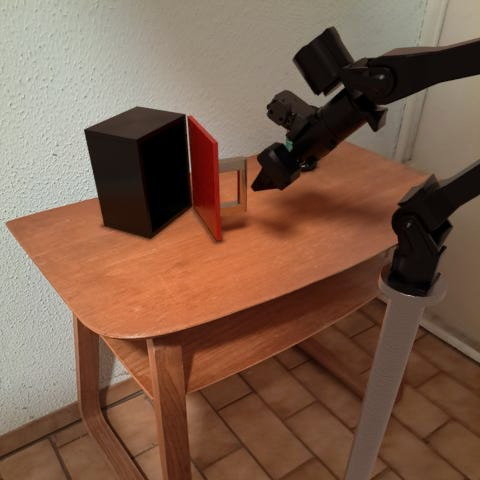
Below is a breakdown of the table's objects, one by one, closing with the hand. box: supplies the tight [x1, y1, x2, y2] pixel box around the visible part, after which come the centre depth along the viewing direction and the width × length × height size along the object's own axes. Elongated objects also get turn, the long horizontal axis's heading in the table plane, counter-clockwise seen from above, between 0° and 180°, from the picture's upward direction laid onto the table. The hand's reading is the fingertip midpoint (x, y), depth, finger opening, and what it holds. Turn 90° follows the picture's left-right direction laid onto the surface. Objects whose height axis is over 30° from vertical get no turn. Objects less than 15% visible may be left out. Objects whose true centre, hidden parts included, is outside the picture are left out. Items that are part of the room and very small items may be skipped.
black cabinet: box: [83, 105, 194, 239], centre depth 80 cm, size 10×14×17 cm
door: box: [186, 115, 248, 242], centre depth 79 cm, size 6×14×16 cm, turn 21°
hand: (266, 178), depth 80 cm, fingers open, 9 cm apart
